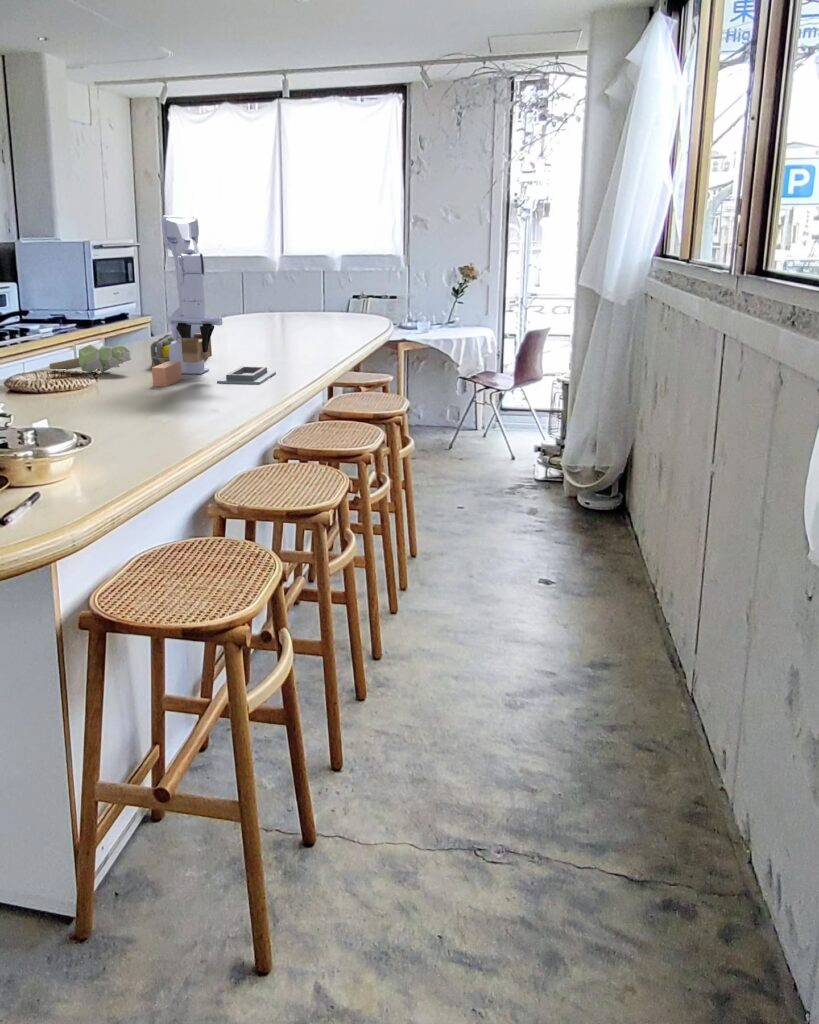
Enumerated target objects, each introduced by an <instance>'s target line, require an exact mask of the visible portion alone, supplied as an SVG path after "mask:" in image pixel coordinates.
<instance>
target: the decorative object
mask: <svg viewBox="0 0 819 1024" xmlns="http://www.w3.org/2000/svg"><path fill="white" fill-rule="evenodd" d="M131 360H132V356H131V350H129V349H128V348H127V347H126V346H123V345H116V346H101V347H99V346H96V345H92V344H89V345H87V346H85V347H82V348H80V349H78V357H76V358H71V359H65V360H60V361H56V362H52V363H50V364H49V369H66V370H72V369H77V368H78V369H79V368H81V371H83V372H87V373H91V372H93V371H94V370H96V369H100V370H101V374H100V375H102V374H103V373H105V372H107V371H108V370H110V369H112V368H121V366H120V365H121V364H124V363H126V362H129V361H131ZM66 370H65V371H66Z"/></svg>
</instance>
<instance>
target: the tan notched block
mask: <svg viewBox="0 0 819 1024" xmlns="http://www.w3.org/2000/svg"><path fill="white" fill-rule="evenodd" d="M181 344H182V357H183V362H199V361H202V360H204V359H206V358H208V359H209V358H210V357H212V356H213V353H212V339H211V337H210V341H209V346H208V352H203V348H202V336H201V333H195V334H194V338H181Z"/></svg>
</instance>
